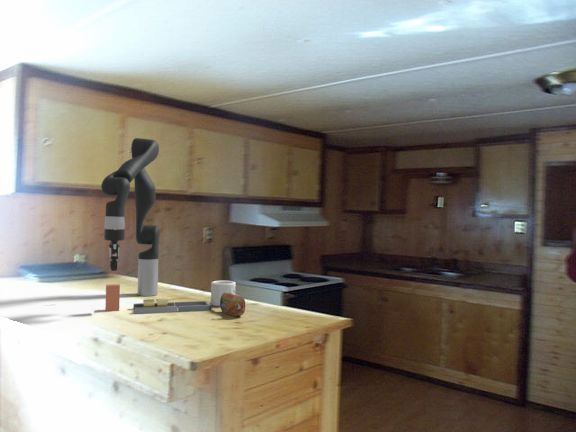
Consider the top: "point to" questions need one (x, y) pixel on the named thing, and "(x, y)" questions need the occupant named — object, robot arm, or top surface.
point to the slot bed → (154, 308)
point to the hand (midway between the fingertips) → (113, 269)
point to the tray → (193, 306)
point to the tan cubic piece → (149, 303)
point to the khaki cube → (161, 302)
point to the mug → (221, 290)
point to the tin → (232, 304)
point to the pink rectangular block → (112, 297)
